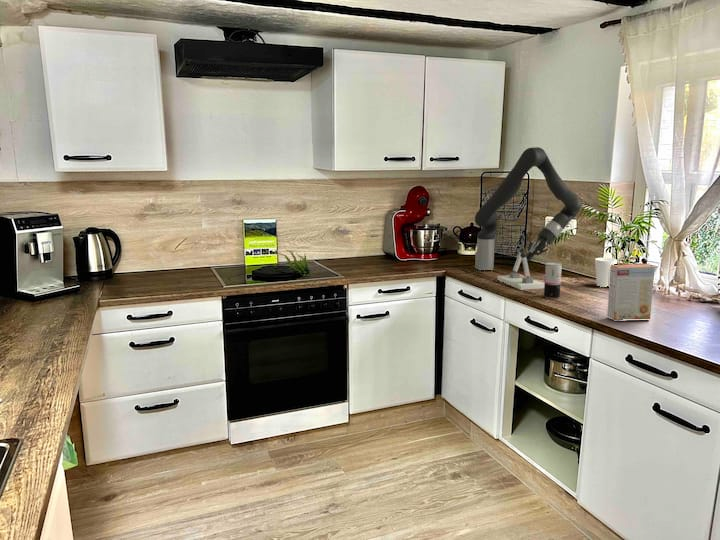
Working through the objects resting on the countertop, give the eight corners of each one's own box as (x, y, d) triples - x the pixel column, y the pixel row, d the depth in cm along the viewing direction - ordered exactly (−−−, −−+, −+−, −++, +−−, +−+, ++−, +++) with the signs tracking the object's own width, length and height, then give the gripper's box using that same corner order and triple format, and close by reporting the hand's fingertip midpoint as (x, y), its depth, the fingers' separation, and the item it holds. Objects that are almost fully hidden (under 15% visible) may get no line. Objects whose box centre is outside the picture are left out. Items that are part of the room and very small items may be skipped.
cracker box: (641, 316, 208) (646, 263, 204) (650, 321, 203) (656, 266, 198) (605, 317, 208) (610, 264, 204) (613, 322, 202) (618, 267, 198)
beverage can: (540, 296, 240) (542, 263, 237) (549, 294, 244) (551, 261, 241) (553, 299, 235) (555, 265, 232) (562, 297, 239) (564, 263, 236)
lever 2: (529, 276, 260) (523, 251, 257) (532, 277, 257) (527, 251, 254) (523, 278, 259) (518, 252, 256) (527, 279, 257) (521, 253, 253)
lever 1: (515, 273, 271) (524, 248, 270) (518, 274, 269) (527, 249, 267) (510, 271, 271) (519, 247, 269) (513, 272, 268) (522, 247, 267)
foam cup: (592, 287, 256) (594, 260, 254) (594, 283, 264) (596, 257, 262) (614, 289, 252) (616, 261, 249) (615, 285, 260) (617, 258, 257)
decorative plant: (300, 267, 313) (299, 242, 310) (310, 277, 285) (309, 249, 282) (268, 269, 308) (267, 243, 305) (276, 280, 280) (275, 251, 277)
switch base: (520, 278, 277) (520, 270, 276) (545, 288, 256) (545, 279, 255) (497, 280, 274) (497, 272, 273) (520, 289, 253) (521, 281, 252)
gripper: (537, 225, 262) (514, 252, 261) (554, 228, 249) (529, 257, 249) (546, 236, 264) (523, 262, 264) (563, 239, 252) (539, 267, 251)
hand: (526, 259), depth 256 cm, fingers closed
